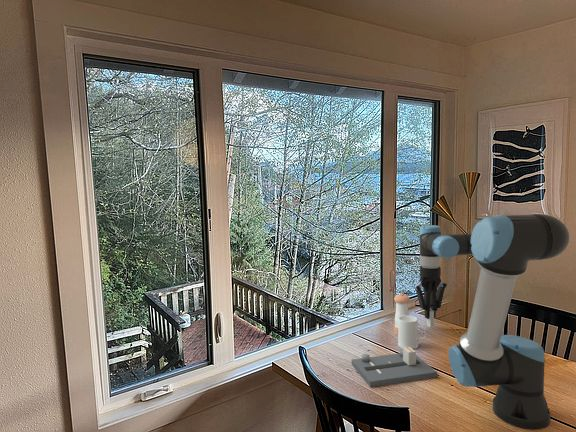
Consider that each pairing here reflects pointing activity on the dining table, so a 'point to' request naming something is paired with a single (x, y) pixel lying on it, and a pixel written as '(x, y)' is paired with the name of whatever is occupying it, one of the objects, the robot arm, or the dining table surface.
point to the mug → (408, 332)
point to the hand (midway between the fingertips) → (430, 326)
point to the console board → (391, 369)
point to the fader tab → (409, 356)
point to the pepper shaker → (400, 308)
